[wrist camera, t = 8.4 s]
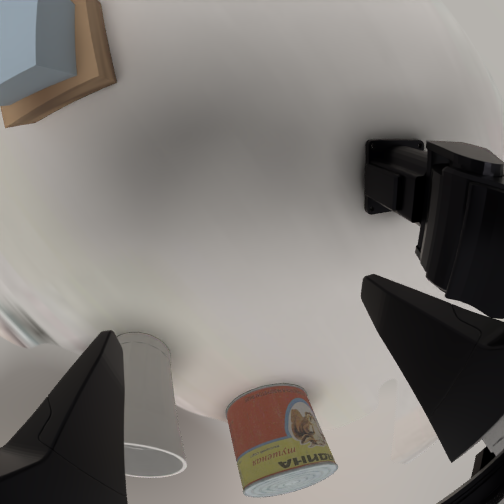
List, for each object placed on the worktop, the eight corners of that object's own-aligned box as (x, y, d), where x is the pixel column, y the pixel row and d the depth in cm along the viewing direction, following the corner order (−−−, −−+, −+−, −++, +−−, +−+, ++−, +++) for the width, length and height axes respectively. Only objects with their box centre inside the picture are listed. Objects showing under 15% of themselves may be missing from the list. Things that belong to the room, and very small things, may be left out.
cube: (74, 4, 9) (40, -25, 4) (76, 75, 11) (35, 64, 7) (7, 37, 8) (-37, 26, 4) (9, 105, 10) (-40, 111, 6)
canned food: (322, 391, 36) (355, 461, 26) (272, 430, 39) (293, 494, 28) (260, 375, 31) (289, 466, 21) (210, 420, 34) (224, 497, 24)
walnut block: (101, 5, 12) (83, -17, 8) (117, 82, 15) (99, 75, 12) (22, 47, 11) (-8, 39, 8) (36, 122, 15) (5, 128, 11)
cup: (119, 381, 27) (113, 477, 17) (90, 330, 24) (64, 439, 13) (186, 374, 29) (197, 475, 18) (166, 320, 25) (168, 440, 14)
